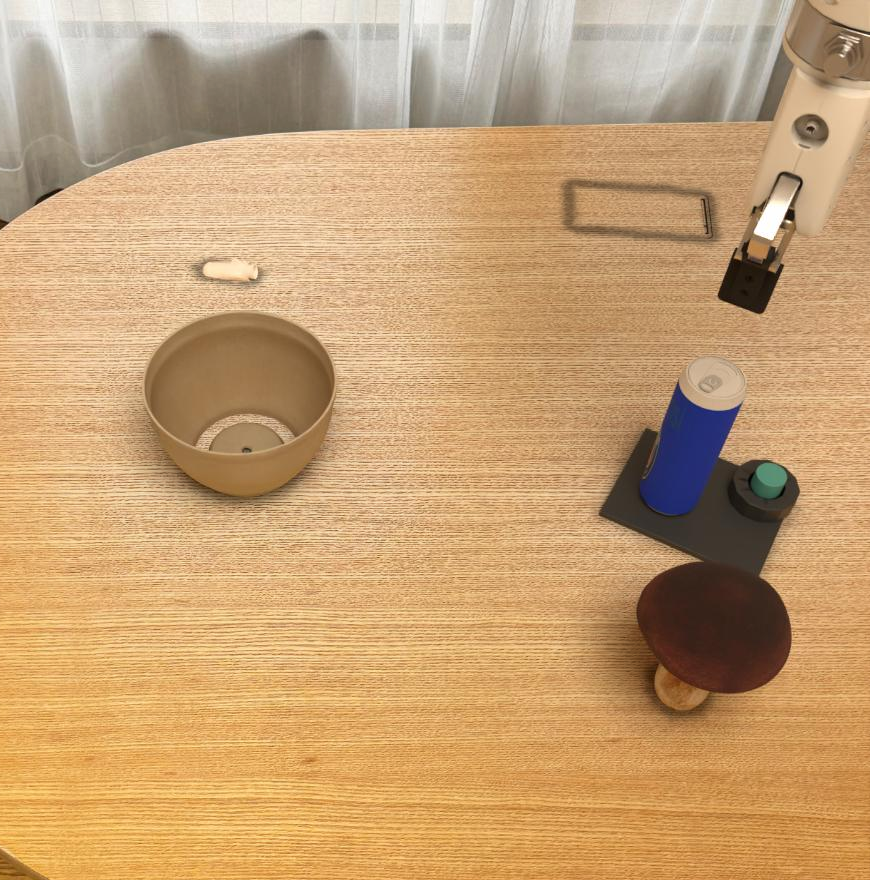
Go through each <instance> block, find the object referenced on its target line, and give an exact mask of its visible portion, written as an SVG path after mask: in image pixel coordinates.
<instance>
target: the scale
mask: <svg viewBox="0 0 870 880" xmlns="http://www.w3.org/2000/svg"><path fill="white" fill-rule="evenodd" d="M658 433H659V431H656V430H653V429H651V428H649V427H646V428H645V429H644V430H643V432H642V434H641V436H640V437H639V439H638V441H637V443H636V445H635V447H634V448H633V450H632V452H631V453H630V456H629V458H628V459H627V462H626V463H625V465H624V467H623V469H622V471H621V472H620V474H619V476H618V477H617V479H616V482H615V484H614V485H613V486H612V488H611V491H610V492H609V495H608V496H607V498H606V500H605V502H604V503H603V505H602V507H601V509H600V511H599V513H598V516H599V517H601V518H603V519H606V520H608V521H610V522H612V523H614V524H617V525H619V526H622V527H624V528H626V529H629V530H630V531H633V532H636V533H638V534H640V535H642V536H645V537H647V538H649V539H652V540H653V541H655V542H656V541H657V542H658V543H660V544H662V545H666V546H668V547H670V548H672V549H674V550H676V551H679V552H681V553H684V554H686V555H688V556H691V557H692V558H694V559H697V560H700V561H711V562H720V563H726V564H730V565H733V566H737V567H739V568H742V569H744V570H747V571H750V572H752V573H753V574H755V575H757V576H759V577H760V574H761V573H762V570H763V568H764V565H765V564H766V561H767V560H768V557H769V554H770V551H771V550H772V547H773V545H774V542H775V540H776V538H777V535H778V533H779V531H780V529H781V527H782V524H783V522H784V519H785V518H787V517H788V516H789V515H790V514H791V513H792V510H793V508H794V507H795V505H796V503H797V501H798V499H799V496H800V493H801V490H800V486H799V483H798V479H797V477H796V476H795V475H794V474H793V473H792V472H791V471H790V470H789V469H788V468H787V467H786V466H784V465H782V464H779V463H777V462H775V461H772V460H770V459H750V460H747V461H746V462H744V463H742V464H740V465H738V464H736V463H734V462H732V461H728V460H727V459H723V458H721V457H720V456H719V457H718V459H717V461H716V464H715V466H714V468H713V470H712V473H711V475H710V477H709V479H708V482H707V484H706V486H705V488H704V491H703V493H702V495H701V497H700V500H699V502H698V504H697V505H696V506H695V508H694V509H692V510H691V511H689V512H687V513H684V514H680V515H665V514H662V513H659V512H657V511H655V510H653V509H652V508H651V507H650V506H649V505H648V504H647V503H646V502H645V500H644V499H643V497H642V495H641V493H640V482H641V479H642V476H643V473H644V471H645V468H646V465H647V463H648V460H649V457H650V455H651V452H652V449H653V446H654V444H655V441H656V438H657V436H658ZM764 463H773V464H776V465H778V466H780V467H781V468H783V469H784V471H785V472H786V474H787V481H786V483H785V485H784V487H783V489H782V490H781V492H780V494H779V495H778V496H777V497H775V498H772V499H765V498H762V497H759V496H758V495H756V494H755V493H754V492H753V491H752V489H751V486H750V482H751V480H752V478H753V475H754V473H755V471H756V469H757V468H758V466H760V465H761V464H764Z"/></svg>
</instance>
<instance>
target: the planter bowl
mask: <svg viewBox="0 0 870 880" xmlns="http://www.w3.org/2000/svg"><path fill="white" fill-rule="evenodd" d="M337 391H338V372H337V367H336V364H335V360H334V358H333V356H332V353H331V351H330V349H329V348H328V347H327V346H326V344H325V343H324V342H323V341H322V340H321V338H319V337H318V336H317V335H316V334H315V332H313V331H311V329H309V328H307V327H306V326H304V325H303V324H302V323H298V322H297V321H295V320H294V319H292V318H291V319H290V318H288V317H285V316H283V315H279V314H275V313H273V312H272V313H271V312H265V311H261V310H252V309H237V310H235V309H234V310H225V311H219V312H213V313H211V314H207V315H203V316H200V317H198V318H195V319H193V320H191V321H188V322H186V323H185V324H183V325H181V326H178V328H176V329H175V330H173V331H172V332H170V333H169V334H168V335H167V336H165V337H164V338H163V339H162V340H161V341H160V342H159V343H158V345H156V346H155V348H154V349H153V351H152V352H151V353H150V355H149V358H148V360H147V361H146V364H145V366H144V369H143V373H142V376H141V397H142V401H143V405H144V409H145V411H146V413H147V416H148V417H149V419H150V422H151V425H152V428H153V431H154V433H155V435H156V437H157V439H158V441H159V442H160V444H161V446H162V447H163V449H164V450H165V452H166V454H167V455H168V456H169V458H170V459H171V460H172V462H174V463H175V465H176V466H178V467H179V468H180V470H182V471H183V472H184V473H185V474H187V476H189V477H190V478H192V479H193V480H194V481H196V482H198V483H200V484H201V485H203V486H205V487H207V488H209V489H211V490H214V491H216V492H218V493H220V494H223V495H226V496H230V497H236V498H237V497H238V498H251V497H253V498H254V497H259V496H263V495H267V494H269V493H272V492H275V491H276V490H278V489H280V488H281V487H283V486H284V485H286V484H287V483H288V482H289V481H291V480H292V479H294V478H295V477H296V476H298V474H299V473H301V472H302V471H303V470H304V469H305V468H306V467H307V465H308V464H309V463H310V462H311V461H312V460H313V458H315V456H316V454H317V453H318V451H319V449H320V448H321V446H322V444H323V442H324V440H325V438H326V435H327V433H328V431H329V427H330V423H331V420H332V415H333V410H334V405H335V401H336V397H337ZM240 415H259V416H263V417H267V418H271V419H273V420H275V421H277V422H279V423H281V424H282V425H283V426H284V427H286V428H287V430H288V431H290V433H292V436H293V437H294V438H293V439H290V440H289V441H286V442H285V441H284V440H283V438H282V437H281V436H280V434H278V433H277V432H276V431H275V430H274V429H272V428H270V427H269V426H266V425H264V424H261V423H257V422H239V423H238V422H237V423H235V424H232V425H229V426H227V427H225V428H224V429H221V431H219V432H218V433H217V434H216V435H215V436H214V438H213V439H212V440H211V443H210V445H209V447H208V449H204V448H201V447H197V444H198V442H199V440H200V438H201V437H202V436H203V434H204V433H205V432H206V431H207V430H208V429H209V428H210V427H211V426H213V425H214V424H216V423H217V422H219V421H222V420H225V419H226V418H229V417H233V416H240ZM244 449H248V450H250V452H244Z"/></svg>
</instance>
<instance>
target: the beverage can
mask: <svg viewBox="0 0 870 880" xmlns="http://www.w3.org/2000/svg"><path fill="white" fill-rule="evenodd" d="M747 382H748V381H747V377H746V374H745V372H744V371H743V369H742V368H741V367H740V365H738V364H737V363H735V362H734V361H732V360H731V359H729V358H727V357H724V356H720V355H715V354H705V355H699V356H697V357H695V358H693V359H691V361H689V363H688V364H687V365H686V366H685V367H684V368H683V369H682V370H681V371H680V374H679V376H678V380H677V382H676V385H675V387H674V390H673V393H672V395H671V398H670V400H669V403H668V406H667V409H666V411H665V415H664V417H663V420H662V422H661V425H660V428H659V430H658V436H657V438H656V441H655V444H654V446H653V449H652V452H651V455H650V457H649V460H648V463H647V465H646V468H645V471H644V473H643V476H642V479H641V482H640V493H641V495H642V497H643V499H644V500H645V502H646V503H647V504H648V505H649V506H650V507H651V508H652V509H653V510H655V511H657V512H659V513H662V514H665V515H680V514H684V513H687V512H689V511H691V510H692V509H694V508H695V506H696V505H697V504H698V502H699V500H700V497H701V495H702V493H703V491H704V488H705V486H706V484H707V482H708V479H709V477H710V475H711V473H712V470H713V468H714V466H715V464H716V461H717V459H718V457H719V458H720V456H721V455H720V454H721V453H722V450H723V448H724V446H725V443H726V441H727V439H728V437H729V435H730V432H731V430H732V428H733V425H734V424H735V421H736V419H737V417H738V415H739V413H740V410H741V408H742V406H743V403H744V401H745V399H746V396H747V390H748V389H747Z"/></svg>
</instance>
